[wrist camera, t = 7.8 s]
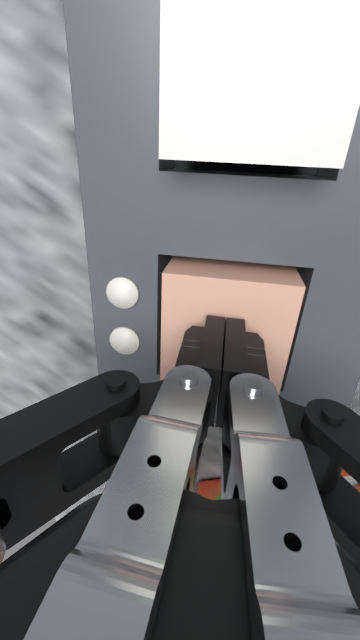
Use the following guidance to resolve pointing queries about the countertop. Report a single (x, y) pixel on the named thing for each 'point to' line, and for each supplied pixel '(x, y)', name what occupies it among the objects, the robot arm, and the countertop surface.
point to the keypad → (199, 213)
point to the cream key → (259, 81)
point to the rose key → (231, 304)
